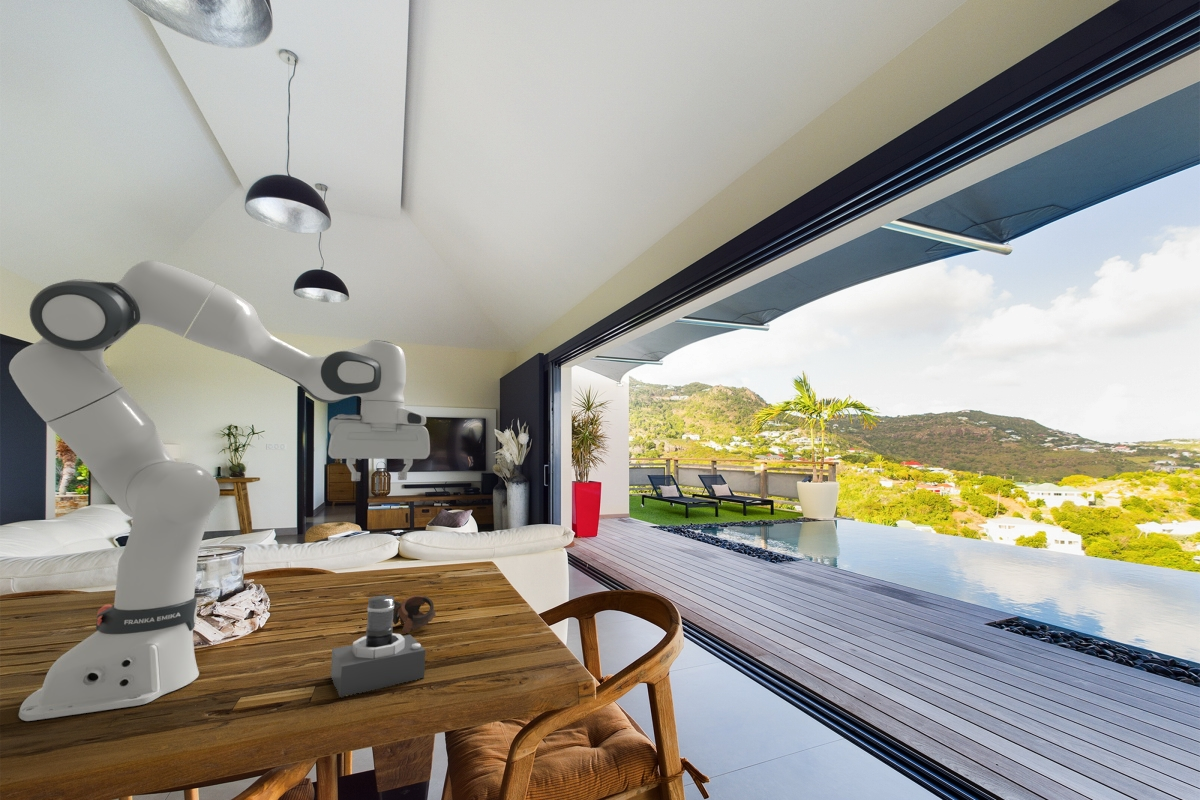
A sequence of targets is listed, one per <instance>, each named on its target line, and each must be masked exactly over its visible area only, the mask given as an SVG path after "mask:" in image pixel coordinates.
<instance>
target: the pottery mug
mask: <svg viewBox="0 0 1200 800" xmlns="http://www.w3.org/2000/svg"><path fill="white" fill-rule="evenodd" d="M425 604H428V606H429V610H427V612H426V613H425V612H422V611H420V609H421V606H422V605H425ZM434 607H435V605H434V603H433V601H432V599H430V598H429V597H427V596H425V595H419V594H415V595H411V596H408V597H407V598H405V599H404V600H403V601H402V602H398V601H397V600H394V609H393V625H397V624H398V623H399V621H400V623H401V624H402V623H403V624H402V625H403V627H402V630H401V631H402V633H404V634H406V633H409V634H410V633H411V631H413V630H417V629H419V628H422V627H425V626H427V625H429V623H430V622H431V621H433V619H434V618H435V617H436V616H437V614H436V611H435V609H434ZM404 622H405V623H404ZM400 623H399V624H400ZM401 624H400V625H401Z"/></svg>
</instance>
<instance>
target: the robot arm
mask: <svg viewBox="0 0 1200 800" xmlns="http://www.w3.org/2000/svg"><path fill="white" fill-rule="evenodd" d="M29 306H30V307H29V318H30V321H31V324H32V326H33V328H34V329H35V331H36V332H37V334H39V336H41V339H40V340H39V341H37V342H35V343H32V344H30V345H28V346H26V347H24V348H22V349H21V350H20V351H18V352H17V353H16V354H15V355H14V356H13V358H12V359H11V360H10V362H9V365H8V370H9V374H10V376H11V378H12V380H13V381H14V383H15V385H16V386H17V388H18V389H19V391H20V392H21V394H22V396H23V397H24V398H25V399H26V401H27V402H28V403H29V405H30V406H31V407H32V409H33V410H34V411H35V412H36V414H37V415H38V416H39V417H40V418H41V419H42V421H44V422H45V424H46V425H47V426H48V427H50V429H51V430H52V431H54V433H55V434H56V435H57V436H58V437H59V438H60V440H62V441H63V442H64V444H66V445H67V446H68V448H69V449H70V450H71V451H72V452H73V453H74V454H75V455H76V456H77V457H78V458H79V460H81V462H82V463H83V464H84V465H85V466H86V468H87V469H88V471H89V472H90V473H91V475H92V476H93V478H94V479H95V481H97V483H98V484H99V485H100V487H101V488H102V489H103V490H104V492H105V493H106V494H107V495H108V497H109V498H110V499H111V500H112V502H113V503H114V504H115V505H116V507H118V508H119V510H120V511H121V512H122V513H123V514H124V515H126V516H128V517H130V518H132V522H131V527H130V531H129V534H128V538H127V540H126V544H125V546H124V550H123V552H122V554H121V555H120V557H119V559H118V563H117V575H116V583H115V592H114V593H115V594H114V602H113V603H114V604H113V605H112V604H105V605H102V606H101V608H99V609H98V611H97V614H96V615H97V617H96V623H95V630H96V631H95V632H93V633H92V634H91V635H89V636H88V637H86V638H84V640H82V641H81V642H79V643H78V644H77V645H75V646H73V647H72V648H71V649H69V650H68V651H67V652H65V653H63V654H61V656H60V657H58V659H57V660H55V661H54V663H53V664H52V665H51V666H50V668H49V670H48V671H47V673H46V676H45V678H44V681H43V683H42V687H41V688H39V689H37V690H35V691H34V692H33V693H31V694H30V695H28V697H26V699H24V701H23V702H22V704H21V705H20V707H19V711H18V718H19V719H21V720H22V721H25V722H30V721H32V722H33V721H37V720H45V719H46V720H47V719H54V718H60V717H66V716H72V715H73V716H74V715H81V714H86V713H87V714H88V713H94V712H102V711H108V710H114V709H115V710H116V709H121V708H129V707H136V706H141V705H145V704H149V703H150V702H153V701H154V700H156V699H158V698H160V697H162V696H164V695H166V694H169V693H172V692H174V691H176V690H179V689H181V688H184V687H185V686H187V685H189V684H191V683H193V682H194V681H195V680H197V679H198V677H199V675H200V671H199V668H198V664H197V661H196V655H195V645H194V629H195V626H196V624H197V615H198V600H197V599H198V597H197V596H196V595H195V592H196V591H195V590H196V581H197V568H198V560H199V559H198V558H199V552H200V549H201V544H202V541H203V538H204V534H205V531H206V528H207V525H208V521H209V518H210V515H211V512H212V511H213V510H214V509H215V507H216V506H217V504H218V503H219V502H218V501H219V498H220V492H221V491H220V486H219V483H218V481H217V479H216V478H215V476H214V475H212V473H210V472H209V471H208V470H206V469H205V468H203V467H202V466H199V465H197V464H194V463H190V462H183V461H182V462H179V461H177V460H176V459H175V458H174V457H173V456H172V455H171V453H170V452H169V451H168V449H167V447H166V445H165V443H164V442H163V441H162V439H161V436H159V433H158V431H157V427H156V425H155V422H154V421H153V419H151V417H150V416H149V415H148V414H147V413H146V411H144V409H143V408H142V407H141V405H139V403H138V402H137V401H136V399H134V398H133V396H132V395H131V394H130V393H129V392H128V391H127V389H126V388H125V387H124V386H123V385H122V383H121V382H120V381H119V380H118V379H117V378H116V377H115V375H114V374H113V373H112V371H111V370H110V369H109V368H108V367H107V365H106V363H105V360H104V352H105V351H107V350H108V349H109V348H111V346H113V345H114V344H117V342H119V341H121V340H122V339H123V338H124V337H125V336H126V335H127V334H128V332H129V331H130V330H131V329H133V328H134V327H135V326H138V325H151V326H153V327H154V326H155V327H157V328H160V329H164V330H166V331H168V332H171V333H174V334H176V335H178V336H180V337H183V338H184V339H187V340H189V341H192V342H195V343H197V344H200V345H202V346H206V347H208V348H212V349H214V350H217V351H221V352H224V353H228V354H231V355H234V356H237V357H240V358H244V359H247V360H249V361H251V362H253V363H256V364H258V365H260V366H262V367H265V368H267V369H268V370H271V371H273V372H275V373H277V374H279V375H282V376H283V377H286V378H288V379H290V380H291V381H293V382H294V383H296V384H298V385H299V387H301V389H302V390H304V392H305V393H307V395H309V396H310V397H311V398H312V399H314V400H316V401H317V402H320V403H324V404H333V403H336V402H337V403H339V401H342V400H345V399H347V398H350V397H354V396H356V397H360V399H361V400H360V401H361V403H360V404H361V405H360V414H344V413H340V414H337V415H336V416H333V417H331V418H330V420H329V423H328V432H329V434H330V439H329V445H328V452H327V453H328V456H329V457H330V458H331V459H332V460H333V459H338V460H339V459H346V464H345V465H346V466H347V468H348V470H349V471H350V473H351V481H352V482H360V481H361V474H362V473H361V472H359V471H357V470H356V469H355V466H354V465H355V464H356V460H357V459H365V460H366V459H368V460H369V459H371V460H373V459H374V460H375V459H378V460H382V459H383V460H385V459H386V460H387V459H394V460H396V459H398V460H403V465H405V466H404V467H403V469H402V470H401V471H398V472H397V480H398V481H407V478H408V477H407V476H408V472H409V471H410V468H411V467H413V462H414V460H426V459H427V458H428V457H429V456H430V453H431V444H430V443H431V442H430V434H429V431H428V429H427V428H426V426H425V425H426V424H427V417H426V416H425V415H424V414H421V413H419V412H415V411H413V410H409V409H407V408H405V405H406V400H405V396H404V390H405V387H406V383H407V362H406V355H405V353H404V350H403V348H401V347H400V346H399V345H398V344H395V343H393V342H389V341H387V340H380V339H379V340H378V339H374V340H370V341H368V342H367V343H364V344H362V345H360V346H357V347H354V348H350V349H345V350H344V349H343V350H339V351H334V352H332V353H330V354H327V355H325V356H317V355H311V354H309V353H306V352H304V351H303V350H301V349H299V348H297V347H294V346H293V345H291V344H289V343H287V342H285V341H284V340H281V339H279V338H277V337H276V336H274V335H273V334H272V333H270V332H269V331H268V330H267V329H266V328H265V327H264V324H263V323H262V322H261V319H260V317H259V314H258V313H257V310H256V309H255V307H254V306H253V305H252V304H251V303H249V302H248V301H246V300H245V299H244V298H243V297H241V296H239V295H238V294H236V293H235V292H233V291H231V290H230V289H228V288H226V287H225V286H222V285H219V283H216V282H214V281H211V280H209V279H207V278H205V277H203V276H200V275H198V274H196V273H193V272H191V271H188V270H186V269H183V268H179V267H177V266H174V265H171V264H168V263H165V262H161V261H157V260H144V261H141V262H139V263H136V264H135V265H134V266H132V267H130V268H129V269H128V270H127V271H126V272H125V274H124V275H123V277H122V278H120V280H119V281H117V282H111V281H106V282H105V281H96V280H93V279H83V278H81V279H80V278H79V279H78V278H77V279H67V280H64V281H60V282H56V283H52V284H50V285H48V286H47V287H45V288H42V290H40V291H39V292H38V293H37V294H35V296H34V298H33V300H32V301H31V303H30V305H29Z"/></svg>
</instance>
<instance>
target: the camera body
mask: <svg viewBox="0 0 1200 800" xmlns="http://www.w3.org/2000/svg"><path fill="white" fill-rule="evenodd" d="M425 664H426V649H425V648H424V647H423V646H422V645H421V643H420V642H418V641H417V640H416V639H415V638H414V637H413V636H412V635H411V634H406V635H402V634H400V633H392V644H391V645H386V646H381V647H366V635H364V636H361V637H360V638H358V639H356V640H354V641H353V642H352V644H351V645H345V646H341V647H340V646H339V647H334V648H331V668H330V679H331V678H332V679H331V680H333V681H332V683H333V685H334V687H336V688H335V690H336V689H337V690H336V692H337V691H338V692H337V694H338V696H339V698H340V697H341V698H344V697H343V696H346V695H350V696H352V695H351V694H354V695H357V694H356V693H359V694H362V692H363V693H366V691H367V692H371V690H372V691H375V689H376V690H379V689H384V688H383V687H385V688H388V687H387V686H389V687H392V686H391V685H393V686H396V685H395V684H398V685H400V684H399V683H402V684H404V683H403V682H406V683H409V682H408V681H411V682H413V681H412V680H415V681H417V680H416V679H419V680H421V679H420V678H424V679H425V671H426V670H425V668H426V666H425ZM346 697H347V696H346Z"/></svg>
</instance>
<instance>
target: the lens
mask: <svg viewBox="0 0 1200 800" xmlns="http://www.w3.org/2000/svg"><path fill="white" fill-rule="evenodd" d="M394 601H395V597H394V596H393V595H386V594H385V595H383V594H382V595H376V596H371V597H370V598H368V601H367V602H368V604H367V611H366V612H367V622H366V631H365V632H366V634H365V636H366V647H381V646H386V645H391V644H392V633H393V632H394V631H393V629H394V627H393V625H394V622H393V609H394Z"/></svg>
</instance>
